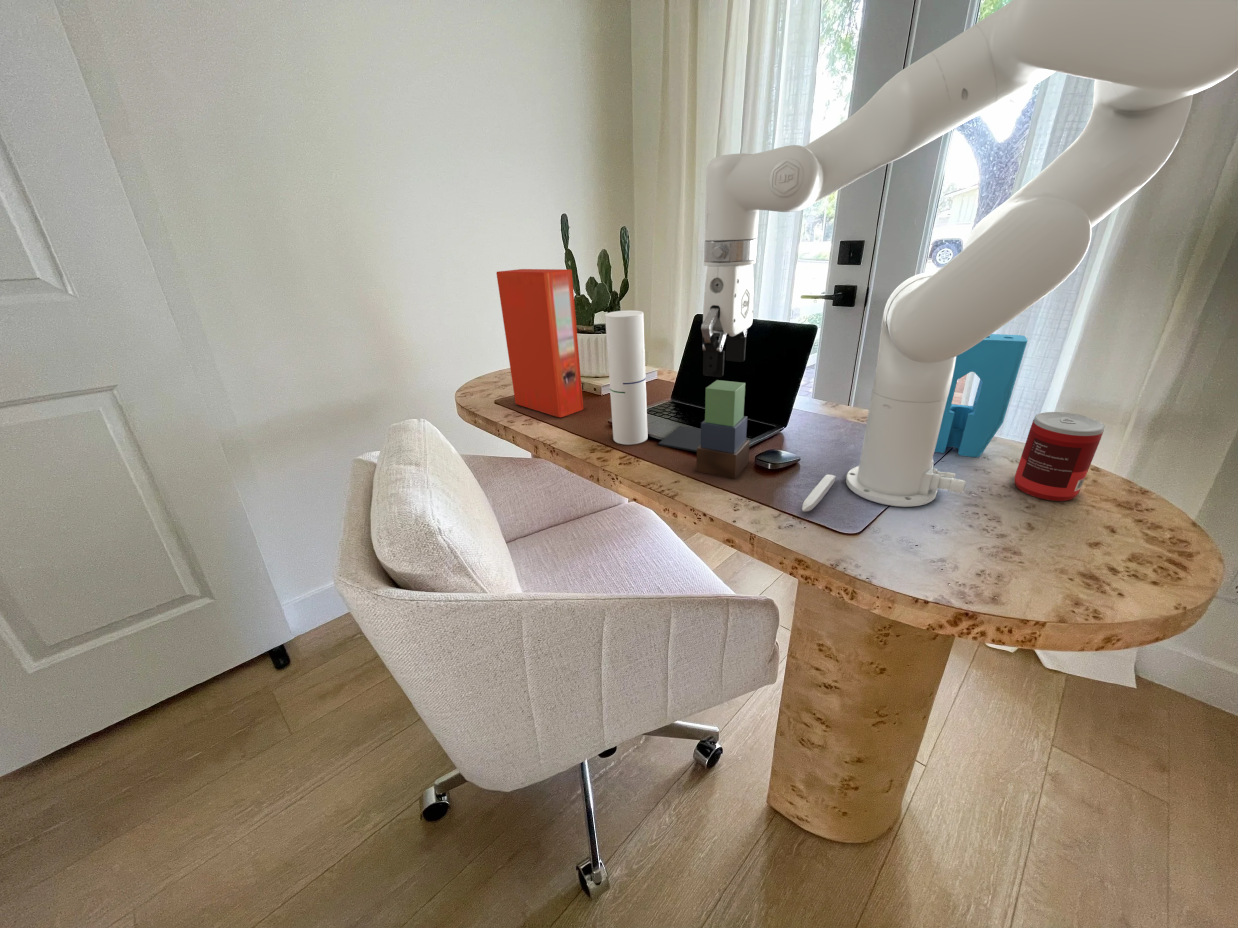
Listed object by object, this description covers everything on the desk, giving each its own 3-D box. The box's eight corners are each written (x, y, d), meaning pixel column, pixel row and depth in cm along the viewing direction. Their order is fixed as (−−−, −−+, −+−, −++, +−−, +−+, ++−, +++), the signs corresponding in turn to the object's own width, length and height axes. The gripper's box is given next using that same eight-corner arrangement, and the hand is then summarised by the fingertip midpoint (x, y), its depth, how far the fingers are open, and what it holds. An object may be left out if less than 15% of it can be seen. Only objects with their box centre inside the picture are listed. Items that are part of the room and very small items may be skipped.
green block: (743, 416, 84) (745, 382, 81) (733, 426, 80) (735, 391, 77) (715, 413, 86) (716, 379, 84) (704, 422, 82) (705, 388, 80)
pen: (796, 516, 71) (797, 506, 70) (827, 478, 81) (828, 469, 80) (807, 519, 70) (808, 509, 69) (837, 481, 80) (838, 472, 79)
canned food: (1061, 478, 76) (1086, 412, 72) (1089, 504, 69) (1119, 432, 65) (1003, 475, 78) (1024, 410, 74) (1026, 500, 72) (1050, 430, 67)
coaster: (724, 435, 100) (724, 433, 100) (705, 453, 92) (705, 451, 92) (679, 427, 105) (679, 426, 105) (658, 445, 97) (658, 443, 97)
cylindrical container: (648, 443, 98) (643, 315, 87) (612, 445, 99) (604, 317, 88) (647, 430, 105) (642, 309, 94) (613, 432, 105) (605, 311, 94)
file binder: (540, 396, 131) (523, 268, 117) (584, 408, 120) (571, 269, 106) (515, 405, 126) (495, 272, 112) (559, 418, 115) (542, 272, 101)
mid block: (746, 440, 86) (747, 416, 84) (734, 453, 81) (735, 428, 79) (713, 435, 89) (714, 411, 87) (700, 447, 84) (700, 423, 82)
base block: (748, 462, 88) (749, 439, 86) (734, 479, 83) (736, 455, 81) (711, 456, 91) (712, 433, 89) (696, 471, 86) (696, 448, 84)
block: (990, 448, 87) (1024, 335, 79) (992, 459, 83) (1028, 341, 75) (913, 438, 93) (937, 331, 84) (912, 448, 89) (936, 337, 81)
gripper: (734, 258, 63) (727, 385, 71) (772, 249, 77) (763, 358, 84) (681, 258, 67) (680, 379, 75) (726, 250, 80) (721, 354, 88)
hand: (724, 368), depth 79 cm, fingers open, 9 cm apart
